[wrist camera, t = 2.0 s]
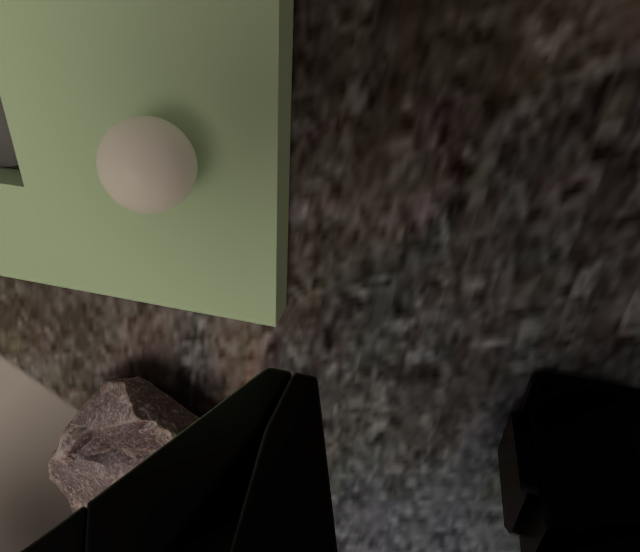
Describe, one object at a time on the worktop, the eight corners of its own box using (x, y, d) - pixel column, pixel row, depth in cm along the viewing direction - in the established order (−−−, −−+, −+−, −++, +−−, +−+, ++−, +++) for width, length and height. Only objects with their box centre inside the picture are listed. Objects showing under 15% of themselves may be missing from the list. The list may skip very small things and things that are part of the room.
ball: (209, 111, 17) (164, 135, 14) (215, 199, 19) (174, 235, 16) (124, 101, 18) (64, 123, 15) (136, 187, 19) (85, 221, 17)
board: (295, -75, 15) (280, -80, 14) (286, 306, 23) (275, 327, 21) (-186, -99, 18) (-236, -105, 17) (-57, 244, 26) (-85, 259, 24)
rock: (54, 441, 31) (-1, 508, 27) (135, 341, 25) (80, 408, 21) (163, 511, 33) (126, 584, 29) (263, 432, 27) (234, 510, 23)
